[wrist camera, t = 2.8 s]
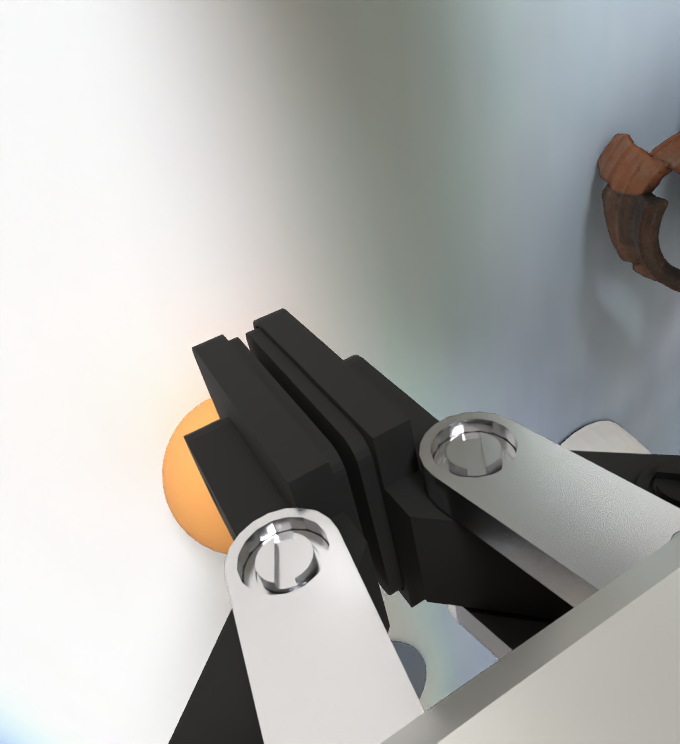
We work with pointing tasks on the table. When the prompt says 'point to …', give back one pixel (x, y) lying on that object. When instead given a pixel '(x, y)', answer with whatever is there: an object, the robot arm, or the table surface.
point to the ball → (193, 485)
